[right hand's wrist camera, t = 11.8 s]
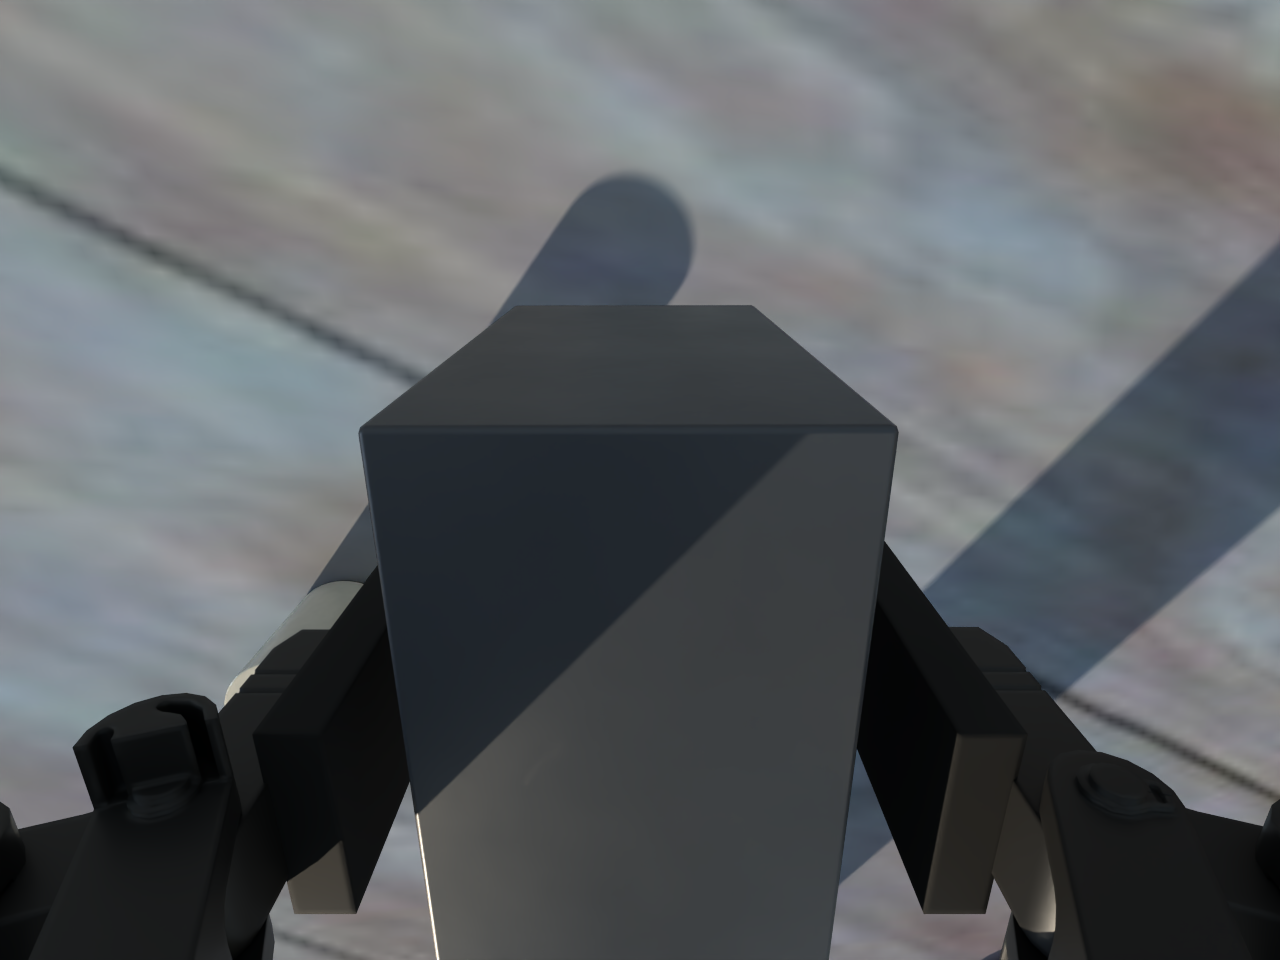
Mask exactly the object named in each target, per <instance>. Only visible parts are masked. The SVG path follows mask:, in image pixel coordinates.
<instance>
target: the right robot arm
mask: <svg viewBox="0 0 1280 960" xmlns="http://www.w3.org/2000/svg"><path fill="white" fill-rule="evenodd" d="M239 689H240V690H239V693H235V694H234V695H233V697H232V698H231V699H230V700H229V701H228V703H227V704H226V705H225V706H224V707H223V708H222V710H221V711H220V712H219V713H218V711H217V707H216V704H214V703H213V702H212V701H210V700H209V699H208V698H207V697H205V696H200V695H195V694H189V693H181V694H170V695H161V696H158V697H154V698H151V699H147V700H143V701H140V702H136V703H134V704H131V705H129V706H127V707H125V708H123V709H121V710H119V711H116V712H114V713H112V714H110V715H108V716H107V717H105V718H104V719H102V720H101V721H100V722H98V723H97V724H95V725H94V726H93V727H91V728H90V729H88V730H87V731H86V732H85V733H84V734H83V736H82V737H81V738H80V739H79V740H78V742H77V743H76V744H75V745H74V746H73V750H74V753H75V756H76V759H77V761H78V764H79V767H80V770H81V773H82V776H83V779H84V781H85V784H86V787H87V790H88V793H89V796H90V799H91V802H92V804H93V807H94V811H93V812H90V813H87V814H83V815H79V816H75V817H70V818H66V819H61V820H57V821H53V822H48V823H44V824H39V825H35V826H31V827H26V828H22V829H18V828H17V826H16V823H15V821H14V818H13V816H12V813H11V811H10V808H8V807H7V806H6V805H4V804H3V803H1V802H0V960H273V951H274V935H273V928H272V923H271V919H270V915H269V913H270V911H271V909H272V907H273V905H274V903H275V901H276V899H277V898H278V896H279V894H280V892H281V890H282V888H283V886H284V884H285V882H286V881H287V884H288V888H289V893H290V897H291V901H292V905H293V909H294V914H356V913H357V911H358V908H359V906H360V903H361V901H362V898H363V896H364V893H365V891H366V888H367V886H368V883H369V881H370V878H371V876H372V873H373V871H374V868H375V866H376V864H377V861H378V859H379V856H380V854H381V851H382V849H383V846H384V844H385V841H386V839H387V836H388V834H389V831H390V829H391V826H392V824H393V821H394V819H395V817H396V814H397V812H398V809H399V807H400V804H401V802H402V799H403V797H404V794H405V792H406V789H407V787H408V784H409V782H410V778H409V772H408V765H407V758H406V751H405V745H404V738H403V731H402V724H401V718H400V711H399V704H398V697H397V691H396V684H395V677H394V670H393V664H392V657H391V650H390V643H389V637H388V630H387V623H386V616H385V610H384V603H383V596H382V589H381V583H380V576H379V569H378V565H377V567H376V568H375V569H374V571H373V572H372V573H371V575H370V576H369V577H368V579H367V580H366V581H365V583H364V584H363V586H362V587H361V588H360V590H359V591H358V592H357V594H356V595H355V596H354V598H353V599H352V600H351V602H350V603H349V604H348V606H347V607H346V608H345V610H344V611H343V612H342V614H341V615H340V616H339V618H338V619H337V621H336V622H335V623H334V625H333V626H332V627H331V629H302V630H300V631H299V632H297V633H296V634H294V635H293V636H291V637H290V638H288V639H287V640H285V641H283V642H282V643H280V644H279V645H277V646H276V647H274V648H273V649H272V650H271V651H270V653H269V654H268V655H267V656H266V657H265V659H264V660H263V661H262V662H261V663H260V664H259V666H258V667H257V668H256V669H255V674H251V675H250V676H249V678H248V679H247V680H246V681H245V682H244V684H243V685H242V686H241V687H240V688H239ZM857 750H858V752H859V755H860V757H861V760H862V762H863V765H864V767H865V770H866V772H867V775H868V777H869V779H870V782H871V784H872V787H873V789H874V792H875V794H876V797H877V799H878V802H879V804H880V807H881V809H882V812H883V814H884V817H885V819H886V822H887V824H888V826H889V829H890V831H891V834H892V836H893V839H894V841H895V844H896V846H897V849H898V851H899V854H900V856H901V859H902V861H903V864H904V866H905V869H906V871H907V873H908V876H909V878H910V881H911V883H912V886H913V888H914V891H915V893H916V896H917V898H918V901H919V903H920V906H921V908H922V911H923V913H924V914H986V909H987V905H988V901H989V897H990V893H991V888H992V884H993V880H994V879H995V881H996V883H997V884H998V886H999V888H1000V890H1001V892H1002V894H1003V896H1004V898H1005V899H1006V901H1007V903H1008V905H1009V907H1010V909H1011V915H1010V919H1009V923H1008V927H1007V931H1006V935H1005V939H1004V943H1003V947H1002V951H1001V954H1000V958H999V960H1280V800H1278V801H1277V802H1275V803H1274V804H1273V805H1272V806H1271V808H1270V811H1269V813H1268V816H1267V818H1266V821H1265V823H1264V826H1259V825H1255V824H1250V823H1246V822H1242V821H1237V820H1233V819H1228V818H1224V817H1219V816H1215V815H1211V814H1206V813H1202V812H1197V811H1194V810H1191V809H1187V808H1185V806H1184V805H1183V803H1182V802H1181V801H1180V799H1179V798H1178V796H1177V795H1176V794H1175V792H1174V791H1173V790H1172V789H1171V788H1170V787H1168V786H1167V785H1166V784H1165V783H1163V782H1162V781H1161V780H1160V779H1159V778H1157V777H1156V776H1155V775H1154V774H1152V773H1150V772H1148V771H1147V770H1145V769H1143V768H1141V767H1139V766H1137V765H1135V764H1133V763H1131V762H1130V761H1128V760H1124V759H1121V758H1118V757H1115V756H1112V755H1109V754H1106V753H1103V752H1097V751H1096V750H1095V749H1094V748H1093V747H1092V745H1091V744H1090V743H1089V742H1088V741H1087V739H1086V738H1085V737H1084V736H1083V735H1082V734H1081V732H1080V731H1079V730H1078V729H1077V728H1076V726H1075V725H1074V724H1073V723H1072V722H1071V721H1070V719H1069V718H1068V717H1067V716H1066V715H1065V713H1064V712H1063V711H1062V710H1061V709H1060V708H1059V706H1058V705H1057V704H1056V703H1055V702H1054V700H1053V699H1052V698H1051V697H1050V696H1049V695H1048V693H1047V692H1046V691H1042V690H1041V685H1040V684H1039V683H1038V682H1037V680H1036V679H1035V678H1034V677H1033V676H1032V674H1031V673H1030V672H1026V667H1025V666H1024V665H1023V664H1022V663H1021V661H1020V660H1019V659H1018V658H1017V657H1016V656H1015V654H1014V653H1013V652H1012V651H1011V650H1010V648H1009V647H1008V646H1007V645H1005V644H1004V643H1002V642H1001V641H999V640H997V639H996V638H994V637H993V636H991V635H990V634H988V633H987V632H985V631H984V630H982V629H980V628H979V627H948V626H947V625H946V623H945V622H944V621H943V619H942V618H941V616H940V615H939V614H938V612H937V611H936V610H935V608H934V607H933V606H932V604H931V603H930V602H929V600H928V599H927V598H926V596H925V595H924V594H923V592H922V591H921V590H920V588H919V587H918V586H917V584H916V583H915V581H914V580H913V579H912V577H911V576H910V575H909V573H908V572H907V571H906V569H905V568H904V567H903V565H902V564H901V563H900V561H899V560H898V559H897V557H896V556H895V555H894V553H893V552H892V551H891V549H890V548H889V546H888V545H887V544H886V542H885V541H884V546H883V554H882V561H881V569H880V576H879V584H878V591H877V599H876V606H875V614H874V621H873V629H872V637H871V644H870V652H869V659H868V667H867V674H866V682H865V689H864V697H863V704H862V712H861V719H860V727H859V735H858V742H857Z"/></svg>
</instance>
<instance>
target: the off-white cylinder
mask: <svg viewBox="0 0 1280 960" xmlns="http://www.w3.org/2000/svg"><path fill="white" fill-rule="evenodd" d="M362 586H363V584H362V583H358V582H352V581H336V582H331V583H327V584H324V585H321V586H319V587H317V588H315V589H314V590H312V591H311V592H310V593H309V594H308V595H306V597H305V598H304V599H303V600H302V601H301V602H300V603H299V605H298V606H297V607H296V608H295V609H294V610H293V611H292V613H291V614H290V615H289V616H288V617H287V618H286V619H285V621H284V622H283V623H282V624H281V625H280V626H279V628H278V629H277V630H276V631H275V632H274V633H273V634H272V636H271V637H270V638H269V639H268V640H267V641H266V642H265V644H264V645H263V646H262V647H261V648H260V649H259V651H258V652H257V653H256V654H255V655H254V656H253V657H252V659H251V660H250V661H249V662H248V663H247V664H246V665H245V667H244V668H243V669H242V670H241V671H240V672H239V673H238V675H237V676H236V677H235V678H234V679H233V681H232V682H231V684H230V686H229V687H228V690H227V693H226V696H225V702H224V706H225V705H226V704H227V703H228V701H229V700H230V699H231V698H232V697H233V695H234V694H235V693H239V690H240V689H239V688H240V687H241V686H242V685H243V684H244V682H245V681H246V680H247V679H248V678H249V676H250V675H251V674H255V669H256V668H257V667H258V666H259V664H260V663H261V662H262V661H263V660H264V659H265V657H266V656H267V655H268V654H269V653H270V651H271V650H272V649H273V648H274V647H276V646H277V645H279V644H280V643H282V642H283V641H285V640H287V639H288V638H290V637H291V636H293V635H294V634H296V633H297V632H299V631H300V630H302V629H331V627H332V626H333V625H334V623H335V622H336V621H337V619H338V618H339V616H340V615H341V614H342V612H343V611H344V610H345V608H346V607H347V606H348V604H349V603H350V602H351V600H352V599H353V598H354V596H355V595H356V594H357V592H358V591H359V590H360V588H361V587H362Z"/></svg>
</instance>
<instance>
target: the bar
mask: <svg viewBox="0 0 1280 960" xmlns="http://www.w3.org/2000/svg"><path fill="white" fill-rule="evenodd" d="M898 433H899V432H898V429H897V426H896V425H895V424H893V423H892V422H891V421H890V420H889V419H887V418H886V417H885V416H884V415H883V414H881V413H880V412H879V411H878V410H877V409H875V408H874V407H873V406H872V405H871V404H870V403H868V402H867V401H866V400H865V399H864V398H862V397H861V396H860V395H859V394H858V393H856V392H855V391H854V390H853V389H852V388H850V387H849V386H848V385H847V384H846V383H844V382H843V381H842V380H841V379H840V378H839V377H837V376H836V375H835V374H834V373H833V372H831V371H830V370H829V369H828V368H827V367H825V366H824V365H823V364H822V363H821V362H819V361H818V360H817V359H816V358H815V357H813V356H812V355H811V354H810V353H809V352H808V351H806V350H805V349H804V348H803V347H802V346H800V345H799V344H798V343H797V342H796V341H794V340H793V339H792V338H791V337H790V336H788V335H787V334H786V333H785V332H784V331H782V330H781V329H780V328H779V327H778V326H777V325H775V324H774V323H773V322H772V321H771V320H769V319H768V318H767V317H766V316H765V315H763V314H762V313H761V312H760V311H759V310H757V309H756V308H755V307H754V306H752V305H649V306H515V307H514V308H512V309H511V310H510V311H509V312H507V313H506V314H505V315H503V316H502V317H501V318H500V319H498V320H497V321H496V322H495V323H493V324H492V325H491V326H489V327H488V328H487V329H486V330H484V331H483V332H482V333H480V334H479V335H478V336H477V337H475V338H474V339H473V340H471V341H470V342H469V343H468V344H466V345H465V346H464V347H463V348H461V349H460V350H459V351H457V352H456V353H455V354H454V355H452V356H451V357H450V358H448V359H447V360H446V361H445V362H443V363H442V364H441V365H439V366H438V367H437V368H436V369H434V370H433V371H432V372H431V373H429V374H428V375H427V376H425V377H424V378H423V379H422V380H420V381H419V382H418V383H416V384H415V385H414V386H413V387H411V388H410V389H409V390H407V391H406V392H405V393H404V394H402V395H401V396H400V397H399V398H397V399H396V400H395V401H393V402H392V403H391V404H390V405H388V406H387V407H386V408H384V409H383V410H382V411H381V412H379V413H378V414H377V415H375V416H374V417H373V418H372V419H370V420H369V421H368V422H367V423H365V424H364V425H363V426H361V427H360V430H359V433H358V434H359V441H360V447H361V454H362V461H363V468H364V474H365V481H366V488H367V495H368V501H369V508H370V515H371V522H372V528H373V535H374V542H375V549H376V555H377V562H378V569H379V576H380V583H381V589H382V596H383V603H384V610H385V616H386V623H387V630H388V637H389V643H390V650H391V657H392V664H393V670H394V677H395V684H396V691H397V697H398V704H399V711H400V718H401V724H402V731H403V738H404V745H405V751H406V758H407V765H408V772H409V778H410V785H411V792H412V799H413V805H414V812H415V819H416V826H417V832H418V839H419V846H420V853H421V859H422V866H423V873H424V880H425V886H426V893H427V900H428V907H429V913H430V920H431V927H432V934H433V941H434V947H435V954H436V960H829V953H830V946H831V938H832V931H833V923H834V915H835V908H836V900H837V893H838V885H839V878H840V870H841V863H842V855H843V848H844V840H845V833H846V825H847V817H848V810H849V802H850V795H851V787H852V780H853V772H854V765H855V757H856V750H857V742H858V735H859V727H860V719H861V712H862V704H863V697H864V689H865V682H866V674H867V667H868V659H869V652H870V644H871V637H872V629H873V621H874V614H875V606H876V599H877V591H878V584H879V576H880V569H881V561H882V554H883V546H884V539H885V531H886V523H887V516H888V508H889V501H890V493H891V486H892V478H893V471H894V463H895V456H896V448H897V441H898Z"/></svg>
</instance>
